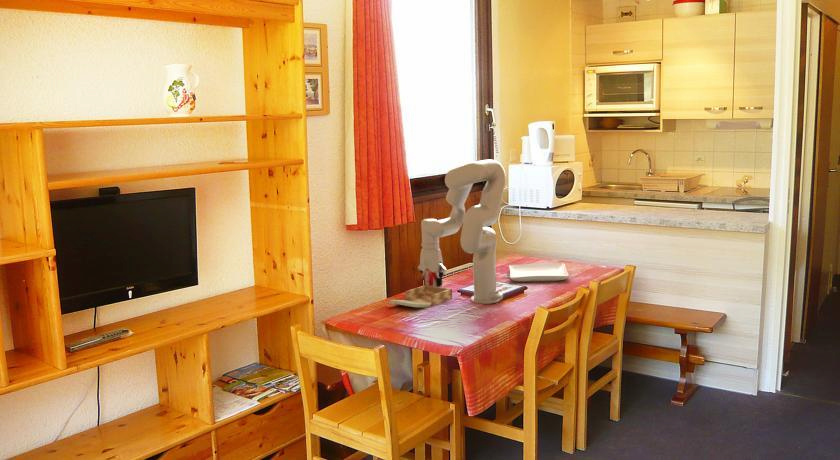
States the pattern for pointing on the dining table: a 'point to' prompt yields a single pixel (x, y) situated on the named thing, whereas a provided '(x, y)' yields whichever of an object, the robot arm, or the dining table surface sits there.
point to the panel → (409, 303)
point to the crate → (429, 295)
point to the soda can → (430, 278)
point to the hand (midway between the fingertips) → (433, 284)
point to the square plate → (538, 272)
